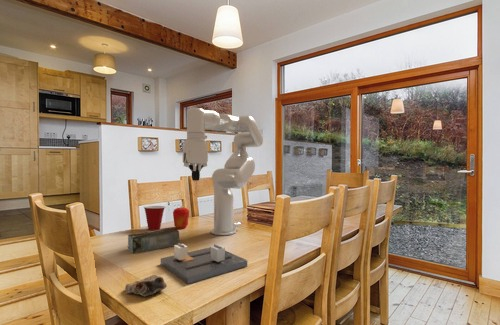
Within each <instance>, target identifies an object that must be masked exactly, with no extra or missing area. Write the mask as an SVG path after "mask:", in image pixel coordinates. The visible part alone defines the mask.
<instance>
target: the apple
mask: <svg viewBox="0 0 500 325" xmlns="http://www.w3.org/2000/svg"><path fill="white" fill-rule="evenodd" d="M172 215H173V216H172V217H173V222H174V227H175V229H176V230H177V229H178V230H180V229H186V227H187V226H188V224H189V219H190V218H189V217H190V210H189V208H187V207H182V206H180V207H177V208H175V209H173V212H172Z"/></svg>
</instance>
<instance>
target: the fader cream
mask: <svg viewBox="0 0 500 325" xmlns="http://www.w3.org/2000/svg"><path fill="white" fill-rule="evenodd" d="M188 250H189V247H188V246H187V245H186V244H184V243H180V242H179V243H177V245H174V246H173V254H174V255H173V256H174V257H175V258H176V259H178V260H183V259H187V258H188V252H189V251H188Z"/></svg>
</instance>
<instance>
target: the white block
mask: <svg viewBox="0 0 500 325" xmlns="http://www.w3.org/2000/svg"><path fill="white" fill-rule="evenodd" d="M210 247H211V259H213V260H215V261H216V262H218V261H222V260H225V251H226V248H225V247H223V246H222V245H219V244H213V245H212V246H210Z"/></svg>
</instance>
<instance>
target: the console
mask: <svg viewBox="0 0 500 325" xmlns="http://www.w3.org/2000/svg"><path fill="white" fill-rule="evenodd" d="M211 247H212V246H210V247H206V248H201V249H196V250H192V251H188V258H187V259H183V260H178V259H176V258H175V257H174V255H169V256H166V257H165V256H164V257H160V265H161V266H162V267H163V268H165V269H167V270H168V271H169V272H171V274H173V275H174V276H176V277H177V278H179V279H180V280H181V281H183V282H184V283H186V284H187V285H190V284H193V283H197V282H199V281H204V280H207V279H210V278H213V277H216V276H220V275H224V274H227V273H230V272H232V271H236V270H239V269H242V268H247V267H248V260H247V259H245V258H243V257H241V256H240V255H239V256H238V255H236V254H234V253H232V252H230V251H227V250H225V260H222V261H218V262H216V261H215V260H213V259H211Z"/></svg>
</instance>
